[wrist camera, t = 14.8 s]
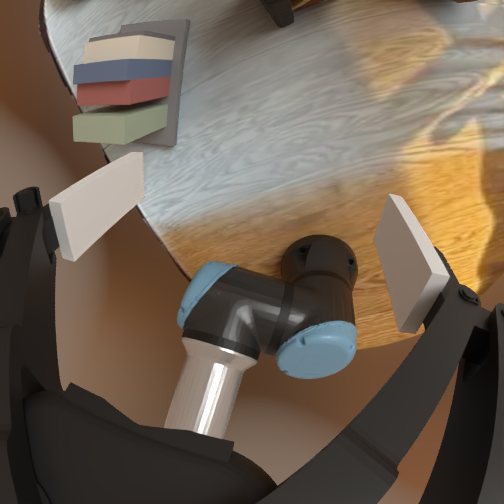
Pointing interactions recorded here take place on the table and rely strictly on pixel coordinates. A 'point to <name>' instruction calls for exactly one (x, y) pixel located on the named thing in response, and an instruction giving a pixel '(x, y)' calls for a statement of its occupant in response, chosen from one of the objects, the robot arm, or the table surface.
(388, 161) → the table surface
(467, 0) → the butternut squash
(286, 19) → the bookend
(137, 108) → the loose book
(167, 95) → the book shelf
